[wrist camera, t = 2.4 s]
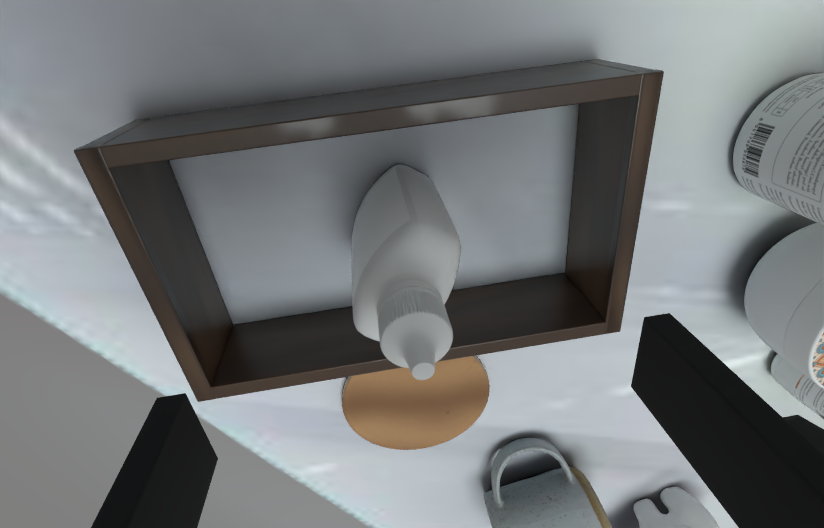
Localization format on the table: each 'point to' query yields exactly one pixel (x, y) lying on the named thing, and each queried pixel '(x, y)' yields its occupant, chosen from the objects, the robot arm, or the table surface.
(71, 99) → the table surface
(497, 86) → the dark wooden open box
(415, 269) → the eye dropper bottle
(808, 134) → the cosmetic set
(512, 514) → the ceramic mug
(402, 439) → the coaster
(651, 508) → the elephant figurine
